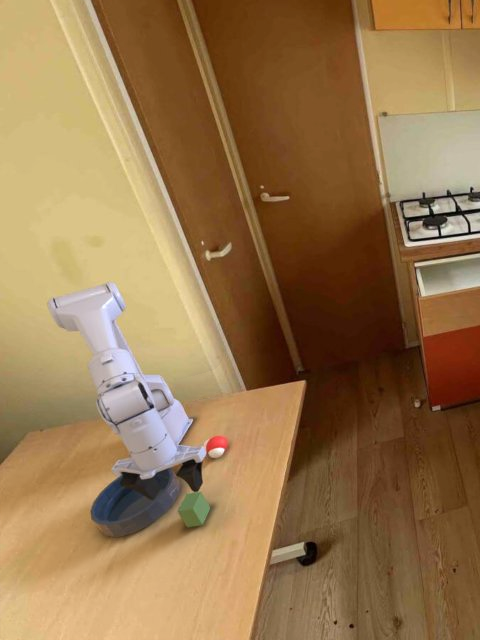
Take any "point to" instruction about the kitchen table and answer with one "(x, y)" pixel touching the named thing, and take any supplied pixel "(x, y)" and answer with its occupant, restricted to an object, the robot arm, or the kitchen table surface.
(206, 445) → the molecule
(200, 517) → the green block
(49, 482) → the kitchen table surface
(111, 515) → the bowl
